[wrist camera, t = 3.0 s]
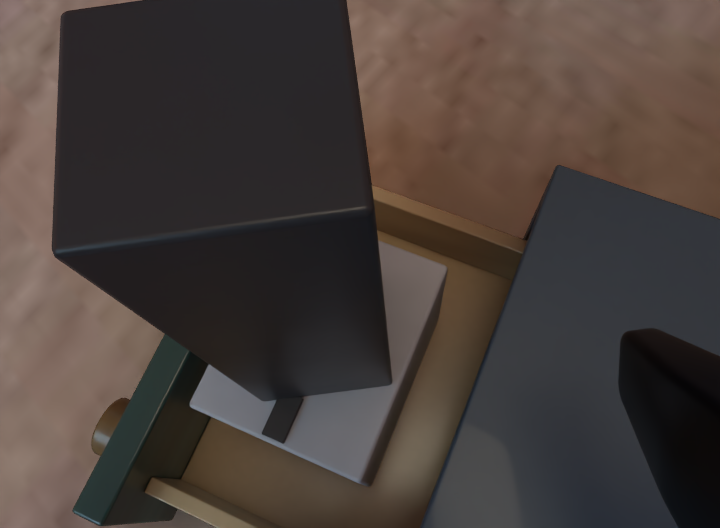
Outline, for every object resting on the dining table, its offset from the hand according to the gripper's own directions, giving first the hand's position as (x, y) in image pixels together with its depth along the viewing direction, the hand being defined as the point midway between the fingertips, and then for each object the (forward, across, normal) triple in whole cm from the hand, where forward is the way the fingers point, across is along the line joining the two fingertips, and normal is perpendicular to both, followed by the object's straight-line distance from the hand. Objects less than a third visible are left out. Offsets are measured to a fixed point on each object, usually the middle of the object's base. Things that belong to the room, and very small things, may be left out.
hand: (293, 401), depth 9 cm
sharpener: (+8, 0, +5) cm, 10 cm away
